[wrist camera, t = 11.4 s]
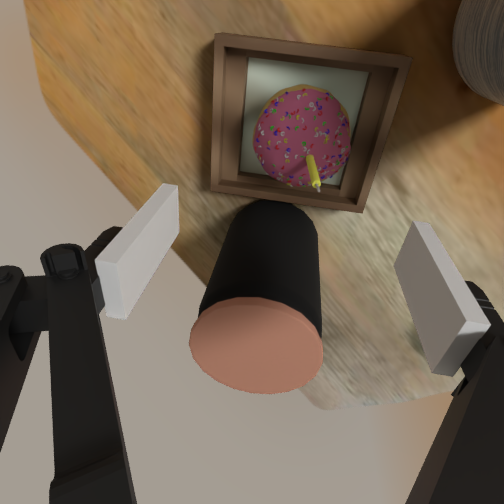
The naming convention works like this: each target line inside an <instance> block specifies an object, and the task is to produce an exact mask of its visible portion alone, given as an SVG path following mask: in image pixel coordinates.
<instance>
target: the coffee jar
mask: <svg viewBox="0 0 504 504" xmlns="http://www.w3.org/2000/svg"><path fill="white" fill-rule="evenodd" d="M321 337H322V316H321V296H320V275H319V254H318V234H317V231H316V229H315V226H314V224H313V221H312V220H311V219H310V218H309V217H308V216H307V215H306V213H305V212H304V211H302V210H301V209H299V208H297V207H296V206H294V205H292V204H291V203H287V202H282V201H275V200H263V201H260V202H257V203H254V204H251V205H248V206H247V207H245V208H244V209H243V210H242V211H240V212H239V213H238V214H237V215H236V217H235V218H234V220H233V221H232V223H231V225H230V228H229V230H228V233H227V235H226V238H225V241H224V243H223V246H222V249H221V251H220V254H219V257H218V259H217V262H216V265H215V267H214V270H213V273H212V275H211V278H210V280H209V283H208V286H207V288H206V291H205V294H204V296H203V299H202V302H201V304H200V308H199V314H198V319H197V320H196V322H195V323H194V325H193V327H192V329H191V333H190V340H189V346H190V349H191V353H192V355H193V359H194V360H195V361H196V362H197V364H198V365H199V366H200V368H201V369H202V370H203V371H204V372H205V373H207V374H208V375H209V376H211V377H212V378H213V379H215V380H216V381H218V382H220V383H222V384H224V385H226V386H229V387H231V388H233V389H237V390H241V391H245V392H249V393H260V394H275V393H282V392H288V391H291V390H294V389H296V388H299V387H301V386H304V385H305V384H306V383H308V382H309V381H310V380H311V379H313V378H314V377H315V376H316V374H317V372H318V371H319V369H320V367H321V365H322V363H323V346H322V341H321Z"/></svg>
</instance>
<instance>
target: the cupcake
mask: <svg viewBox="0 0 504 504" xmlns="http://www.w3.org/2000/svg"><path fill="white" fill-rule="evenodd" d="M350 135H351V131H350V121H349V116H348V113H347V111H346V109H345V108H344V107H343V105H342V104H341V103H340V102H339V101H338V100H337V99H336V98H335V97H334V96H333V95H332V94H331V93H330V92H329V91H327V90H325V89H321V88H318V87H314V86H311V85H306V84H300V85H296V86H292V87H288V88H285V89H282V90H280V91H278V92H277V93H276V94H274V95H273V96H272V97H271V98H270V99H269V100H268V101H267V103H266V104H265V106H264V107H263V109H262V111H261V113H260V115H259V118H258V120H257V123H256V125H255V127H254V131H253V138H252V144H253V149H254V151H255V154H256V157H257V158H258V163H260V164H261V165H262V167H263V169H264V170H265V171H266V174H267V175H270V176H271V177H273V178H274V179H275V180H278V181H280V182H283V183H285V184H287V185H290V186H291V187H293V186H298V187H301V186H303V187H306V186H311V185H312V186H313V187H314V188H317V191H318V192H320V189H319V187H320V185H321V182H322V181H324V180H326V179H327V178H332V176H333V175H335V174H336V172H338V170H340V168H341V167H342V166H345V165H344V163H345V162H346V161H347V159H348V156H349V154H350V150H351V146H350ZM345 164H346V163H345Z"/></svg>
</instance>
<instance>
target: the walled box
mask: <svg viewBox="0 0 504 504" xmlns="http://www.w3.org/2000/svg"><path fill="white" fill-rule="evenodd" d="M412 59H413V58H412V57H409V56H406V55H401V54H393V53H385V52H377V51H369V50H360V49H352V48H344V47H336V46H328V45H319V44H311V43H303V42H295V41H287V40H278V39H270V38H262V37H254V36H246V35H237V34H229V33H215V41H214V77H213V114H212V150H211V187H210V191H215V192H222V193H228V194H235V195H242V196H248V197H255V198H262V199H269V200H275V201H282V202H289V203H295V204H302V205H309V206H316V207H322V208H329V209H336V210H342V211H349V212H356V213H363V210H364V207H365V204H366V201H367V198H368V195H369V192H370V189H371V186H372V182H373V179H374V176H375V173H376V170H377V167H378V164H379V161H380V158H381V155H382V152H383V149H384V145H385V142H386V139H387V136H388V133H389V130H390V127H391V124H392V121H393V118H394V115H395V112H396V109H397V105H398V102H399V99H400V96H401V93H402V90H403V87H404V84H405V81H406V78H407V75H408V72H409V68H410V65H411V62H412ZM300 84H306V85H311V86H314V87H318V88H321V89H325V90H327V91H329V92H330V93H331V94H332V95H333V96H334V97H335V98H336V99H337V100H338V101H339V102H340V103H341V104H342V105H343V107H344V108H345V109H346V111H347V113H348V116H349V121H350V131H351V135H350V146H351V150H350V154H349V156H348V159H347V161H346V162H345V163H346V164H345V163H344V165H345V166H342V167H341V168H340V170H338V172H336V174H335V175H333V176H332V178H327V179H326V180H324V181H322V182H321V185H320V187H319V189H320V192H318V191H317V188H314V187H313V186H312V185H311V186H306V187H303V186H301V187H298V186H293V187H291V186H290V185H287V184H285V183H283V182H280V181H278V180H275V179H274V178H273V177H271V176H270V175H267V174H266V171H265V170H264V169H263V167H262V165H261V164H260V163H258V158H257V157H256V154H255V151H254V149H253V144H252V138H253V131H254V127H255V125H256V123H257V120H258V118H259V115H260V113H261V111H262V109H263V107H264V106H265V104H266V103H267V101H268V100H269V99H270V98H271V97H272V96H273V95H274V94H276V93H277V92H278V91H280V90H282V89H285V88H288V87H292V86H296V85H300Z"/></svg>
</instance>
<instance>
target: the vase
mask: <svg viewBox="0 0 504 504" xmlns="http://www.w3.org/2000/svg"><path fill="white" fill-rule="evenodd" d="M452 47H453V56H454V61H455V64H456V67H457V70H458V72H459V74H460V76H461V77H462V79H463V81H464V82H465V83H466V84H467V85H468V86H469V87H470V88H471V89H472V90H473V91H474V92H476V93H477V94H479V95H480V96H482V97H484V98H487V99H489V100H491V101H494V102H496V103H498V104H501V105H503V106H504V0H462V2H461V4H460V7H459V10H458V13H457V16H456V20H455V25H454V29H453V42H452Z"/></svg>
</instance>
